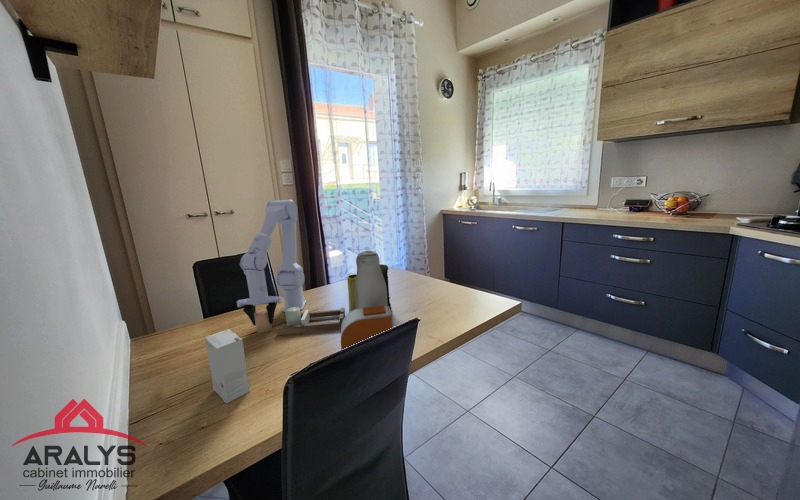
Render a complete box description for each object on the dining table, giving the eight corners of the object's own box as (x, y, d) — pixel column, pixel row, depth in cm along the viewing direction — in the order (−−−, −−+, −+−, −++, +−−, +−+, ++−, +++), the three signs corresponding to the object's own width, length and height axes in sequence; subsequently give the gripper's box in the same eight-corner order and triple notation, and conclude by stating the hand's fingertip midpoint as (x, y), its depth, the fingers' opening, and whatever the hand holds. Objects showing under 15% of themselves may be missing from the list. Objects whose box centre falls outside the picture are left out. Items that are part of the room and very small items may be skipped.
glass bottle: (375, 322, 108) (369, 246, 102) (394, 331, 101) (390, 250, 95) (352, 332, 102) (345, 252, 95) (371, 343, 94) (365, 256, 88)
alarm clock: (390, 341, 95) (388, 301, 92) (395, 356, 87) (392, 313, 84) (343, 348, 92) (339, 307, 89) (342, 364, 84) (338, 319, 81)
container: (364, 314, 115) (360, 269, 111) (374, 305, 123) (371, 263, 119) (385, 317, 111) (382, 271, 107) (395, 308, 120) (392, 264, 115)
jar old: (289, 324, 110) (286, 307, 109) (303, 322, 111) (301, 306, 109) (285, 330, 105) (283, 313, 104) (300, 329, 106) (298, 312, 105)
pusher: (306, 319, 113) (305, 309, 112) (345, 316, 114) (344, 306, 113) (302, 330, 104) (300, 319, 103) (343, 326, 106) (342, 315, 105)
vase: (361, 314, 116) (358, 278, 112) (346, 313, 117) (343, 278, 114) (366, 307, 121) (363, 273, 118) (352, 306, 123) (349, 273, 119)
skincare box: (213, 390, 76) (201, 337, 72) (238, 378, 80) (228, 327, 77) (226, 405, 70) (214, 348, 67) (252, 391, 75) (242, 337, 72)
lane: (285, 320, 113) (284, 311, 112) (345, 314, 116) (344, 306, 115) (277, 335, 102) (275, 325, 101) (343, 328, 104) (342, 319, 104)
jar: (258, 327, 109) (256, 310, 107) (273, 325, 110) (270, 308, 108) (254, 333, 104) (251, 316, 103) (270, 332, 105) (267, 314, 103)
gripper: (230, 293, 99) (237, 330, 102) (276, 289, 100) (281, 326, 103) (239, 285, 106) (245, 321, 109) (281, 282, 107) (286, 317, 110)
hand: (263, 323), depth 107 cm, fingers closed on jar, 5 cm apart
